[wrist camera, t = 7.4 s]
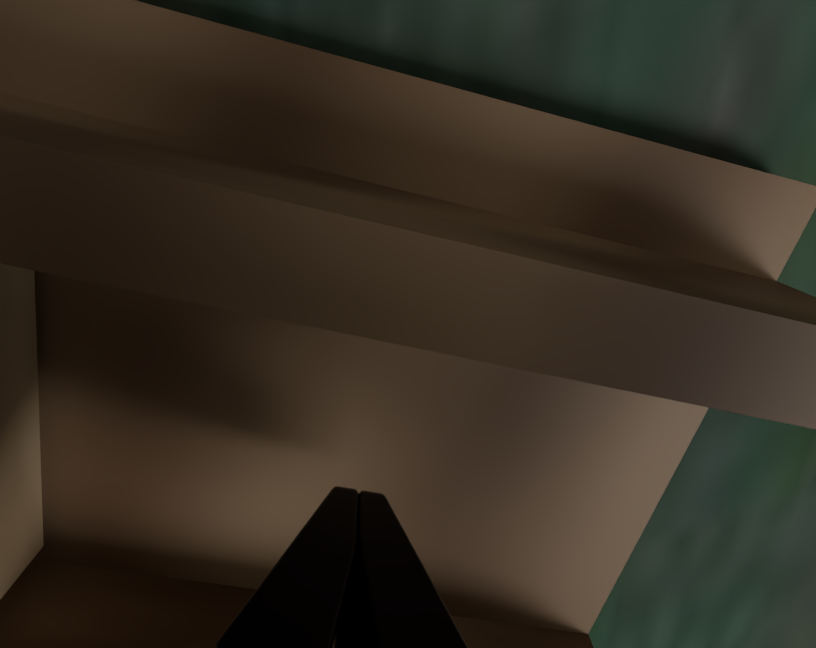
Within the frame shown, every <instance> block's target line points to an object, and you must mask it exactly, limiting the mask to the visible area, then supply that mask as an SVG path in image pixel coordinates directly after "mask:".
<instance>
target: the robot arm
mask: <svg viewBox="0 0 816 648" xmlns="http://www.w3.org/2000/svg"><path fill="white" fill-rule="evenodd" d="M334 638H335V643H334V648H468V646H467V644H466V642H465V641H464V639H463V637H462V635H461V633H460V631H459V630H458V628H457V626H456V624H455V622H454V620H453V619H452V617H451V615H450V613H449V611H448V610H447V608H446V606H445V604H444V602H443V600H442V599H441V597H440V595H439V593H438V591H437V589H436V588H435V586H434V584H433V582H432V580H431V579H430V577H429V575H428V573H427V571H426V569H425V568H424V566H423V564H422V562H421V560H420V558H419V557H418V555H417V553H416V551H415V549H414V547H413V546H412V544H411V542H410V540H409V538H408V537H407V535H406V533H405V531H404V529H403V527H402V526H401V524H400V522H399V520H398V518H397V516H396V515H395V513H394V511H393V509H392V507H391V506H390V504H389V502H388V500H387V498H386V497H385V495H384V494H382V493H377V492H371V491H365V490H362V491H360V493H358V491H357V490H356V489H352V488H346V487H340V486H335V487H334V488H332V489H331V491H330V492H329V493H328V495H327V496H326V497H325V499H324V500H323V501H322V503H321V504H320V505H319V507H318V508H317V509H316V511H315V512H314V513H313V515H312V516H311V517H310V519H309V520H308V521H307V523H306V524H305V525H304V527H303V528H302V529H301V531H300V532H299V533H298V535H297V536H296V537H295V539H294V540H293V541H292V543H291V544H290V545H289V547H288V548H287V549H286V551H285V552H284V553H283V555H282V556H281V557H280V559H279V560H278V561H277V563H276V564H275V565H274V567H273V568H272V569H271V571H270V572H269V573H268V575H267V576H266V577H265V579H264V580H263V581H262V583H261V584H260V585H259V587H258V588H257V589H256V591H255V592H254V593H253V595H252V596H251V597H250V599H249V600H248V601H247V603H246V604H245V605H244V607H243V608H242V609H241V611H240V612H239V613H238V615H237V616H236V617H235V619H234V620H233V621H232V623H231V624H230V625H229V627H228V628H227V629H226V631H225V632H224V633H223V635H222V636H221V637H220V639H219V640H218V641H217V643H216V645H215V648H332V647H333V642H334Z"/></svg>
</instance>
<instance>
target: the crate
mask: <svg viewBox="0 0 816 648" xmlns="http://www.w3.org/2000/svg"><path fill="white" fill-rule="evenodd" d="M43 546H44V544H43V514H42V484H41V455H40V425H39V395H38V366H37V336H36V306H35V277H34V270H29V269H24V268H19V267H14V266H10V265H5V264H0V600H1V598H2V597H3V596H4V595H5V593H6V592H7V591H8V590H9V588H10V587H11V586H12V585H13V583H14V582H15V581H16V580H17V578H18V577H19V576H20V575H21V573H22V572H23V571H24V570H25V568H26V567H27V566H28V565H29V563H30V562H31V561H32V560H33V558H34V557H35V556H36V555H37V553H38V552H39V551H40V550H41V548H42V547H43Z"/></svg>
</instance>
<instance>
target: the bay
mask: <svg viewBox="0 0 816 648" xmlns="http://www.w3.org/2000/svg"><path fill="white" fill-rule="evenodd" d="M815 208H816V186H813V185H809V184H806V183H802V182H799V181H795V180H791V179H788V178H784V177H780V176H777V175H773V174H769V173H766V172H762V171H758V170H755V169H751V168H747V167H744V166H740V165H736V164H733V163H729V162H725V161H722V160H718V159H714V158H711V157H707V156H703V155H700V154H696V153H692V152H689V151H685V150H681V149H678V148H674V147H670V146H667V145H663V144H659V143H656V142H652V141H648V140H645V139H641V138H637V137H634V136H630V135H626V134H623V133H619V132H615V131H612V130H608V129H604V128H601V127H597V126H593V125H590V124H586V123H582V122H579V121H575V120H571V119H568V118H564V117H561V116H557V115H553V114H550V113H546V112H542V111H539V110H535V109H531V108H528V107H524V106H520V105H517V104H513V103H509V102H506V101H502V100H498V99H495V98H491V97H487V96H484V95H480V94H476V93H473V92H469V91H465V90H462V89H458V88H454V87H451V86H447V85H443V84H440V83H436V82H432V81H429V80H425V79H421V78H418V77H414V76H410V75H407V74H403V73H399V72H396V71H392V70H388V69H385V68H381V67H377V66H374V65H370V64H366V63H363V62H359V61H355V60H352V59H348V58H344V57H341V56H337V55H333V54H330V53H326V52H322V51H319V50H315V49H312V48H308V47H304V46H301V45H297V44H293V43H290V42H286V41H282V40H279V39H275V38H271V37H268V36H264V35H260V34H257V33H253V32H249V31H246V30H242V29H238V28H235V27H231V26H227V25H224V24H220V23H216V22H213V21H209V20H205V19H202V18H198V17H194V16H191V15H187V14H183V13H180V12H176V11H172V10H169V9H165V8H161V7H158V6H154V5H150V4H147V3H143V2H139V1H136V0H0V264H5V265H10V266H14V267H19V268H24V269H29V270H34V277H35V306H36V336H37V366H38V395H39V425H40V455H41V484H42V514H43V544H44V546H43V547H42V548H41V550H40V551H39V552H38V553H37V555H36V556H35V557H34V558H33V560H32V561H31V562H30V563H29V565H28V566H27V567H26V568H25V570H24V571H23V572H22V573H21V575H20V576H19V577H18V578H17V580H16V581H15V582H14V583H13V585H12V586H11V587H10V588H9V590H8V591H7V592H6V593H5V595H4V596H3V597H2V598H1V600H0V648H215V645H216V643H217V641H218V640H219V639H220V637H221V636H222V635H223V633H224V632H225V631H226V629H227V628H228V627H229V625H230V624H231V623H232V621H233V620H234V619H235V617H236V616H237V615H238V613H239V612H240V611H241V609H242V608H243V607H244V605H245V604H246V603H247V601H248V600H249V599H250V597H251V596H252V595H253V593H254V592H255V591H256V589H257V588H258V587H259V585H260V584H261V583H262V581H263V580H264V579H265V577H266V576H267V575H268V573H269V572H270V571H271V569H272V568H273V567H274V565H275V564H276V563H277V561H278V560H279V559H280V557H281V556H282V555H283V553H284V552H285V551H286V549H287V548H288V547H289V545H290V544H291V543H292V541H293V540H294V539H295V537H296V536H297V535H298V533H299V532H300V531H301V529H302V528H303V527H304V525H305V524H306V523H307V521H308V520H309V519H310V517H311V516H312V515H313V513H314V512H315V511H316V509H317V508H318V507H319V505H320V504H321V503H322V501H323V500H324V499H325V497H326V496H327V495H328V493H329V492H330V491H331V489H332V488H334V487H335V486H340V487H346V488H352V489H356V490H357V491H358V493H360V491H362V490H365V491H371V492H377V493H382V494H384V495H385V497H386V498H387V500H388V502H389V504H390V506H391V507H392V509H393V511H394V513H395V515H396V516H397V518H398V520H399V522H400V524H401V526H402V527H403V529H404V531H405V533H406V535H407V537H408V538H409V540H410V542H411V544H412V546H413V547H414V549H415V551H416V553H417V555H418V557H419V558H420V560H421V562H422V564H423V566H424V568H425V569H426V571H427V573H428V575H429V577H430V579H431V580H432V582H433V584H434V586H435V588H436V589H437V591H438V593H439V595H440V597H441V599H442V600H443V602H444V604H445V606H446V608H447V610H448V611H449V613H450V615H451V617H452V619H453V620H454V622H455V624H456V626H457V628H458V630H459V631H460V633H461V635H462V637H463V639H464V641H465V642H466V644H467V646H468V648H593V646H592V643H591V640H590V638H589V635H588V633H589V631H590V630H591V628H592V626H593V624H594V622H595V620H596V618H597V616H598V615H599V613H600V611H601V609H602V607H603V605H604V603H605V601H606V600H607V598H608V596H609V594H610V592H611V590H612V588H613V586H614V585H615V583H616V581H617V579H618V577H619V575H620V573H621V571H622V570H623V568H624V566H625V564H626V562H627V560H628V558H629V556H630V555H631V553H632V551H633V549H634V547H635V545H636V543H637V541H638V540H639V538H640V536H641V534H642V532H643V530H644V528H645V526H646V525H647V523H648V521H649V519H650V517H651V515H652V513H653V511H654V510H655V508H656V506H657V504H658V502H659V500H660V498H661V496H662V495H663V493H664V491H665V489H666V487H667V485H668V483H669V481H670V480H671V478H672V476H673V474H674V472H675V470H676V468H677V466H678V465H679V463H680V461H681V459H682V457H683V455H684V453H685V451H686V450H687V448H688V446H689V444H690V442H691V440H692V438H693V436H694V435H695V433H696V431H697V429H698V427H699V425H700V423H701V421H702V420H703V418H704V416H705V414H706V412H707V410H708V408H713V409H718V410H723V411H728V412H733V413H738V414H743V415H748V416H753V417H758V418H763V419H768V420H772V421H777V422H782V423H787V424H792V425H797V426H802V427H807V428H812V429H816V297H813V296H811V295H809V294H806V293H804V292H801V291H799V290H797V289H794V288H792V287H789V286H787V285H784V284H782V283H780V282H777V279H778V277H779V275H780V273H781V271H782V270H783V268H784V266H785V264H786V262H787V260H788V258H789V256H790V255H791V253H792V251H793V249H794V247H795V245H796V243H797V241H798V240H799V238H800V236H801V234H802V232H803V230H804V228H805V226H806V225H807V223H808V221H809V219H810V217H811V215H812V213H813V211H814V210H815ZM334 643H335V638H334V642H333V647H332V648H334Z"/></svg>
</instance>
